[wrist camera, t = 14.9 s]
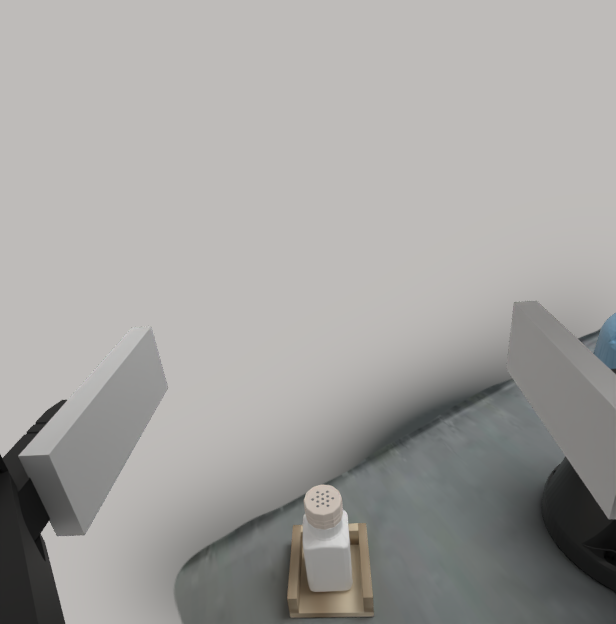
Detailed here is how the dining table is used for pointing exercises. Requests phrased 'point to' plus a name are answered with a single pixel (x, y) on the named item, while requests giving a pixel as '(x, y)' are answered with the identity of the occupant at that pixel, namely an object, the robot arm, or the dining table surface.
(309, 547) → the pepper shaker
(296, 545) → the tray
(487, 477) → the dining table surface
